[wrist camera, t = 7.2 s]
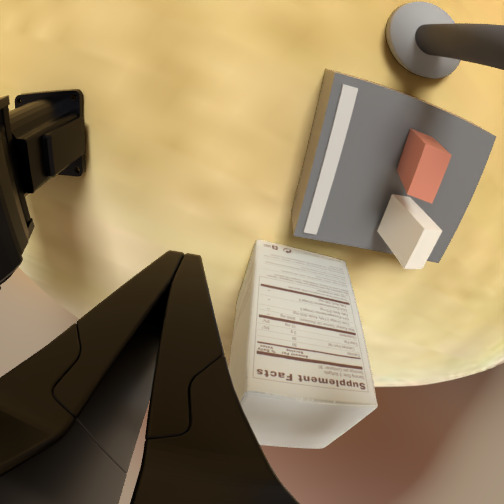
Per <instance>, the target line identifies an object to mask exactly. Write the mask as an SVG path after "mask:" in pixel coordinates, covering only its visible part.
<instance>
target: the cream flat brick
mask: <svg viewBox="0 0 504 504" xmlns="http://www.w3.org/2000/svg"><path fill="white" fill-rule="evenodd" d="M377 232H378V233H379V234H380V236H381V237H382V238H383V240H384V241H385V243H386V244H387V245H388V247H389V248H390V250H391V251H392V252H393V254H394V255H395V257H396V258H397V259H398V261H399V262H400V264H401V265H402V267H403V268H404V269H422V268H423V267H424V265H425V263H426V261H427V259H428V257H429V256H430V254H431V252H432V250H433V248H434V246H435V244H436V242H437V240H438V238H439V236H440V235H441V233H442V230H441V229H440V228H439V227H438V226H437V225H436V223H435V222H434V221H433V220H432V219H431V218H430V217H429V216H428V215H427V214H426V213H425V212H424V211H423V210H422V209H421V208H420V207H419V206H418V205H417V204H416V203H415V202H414V201H413V200H412V199H411V198H410V197H407V196H401V195H395V194H392V195H391V198H390V201H389V203H388V206H387V208H386V211H385V213H384V216H383V218H382V220H381V223H380V225H379V228H378V230H377Z"/></svg>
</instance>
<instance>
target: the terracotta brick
mask: <svg viewBox="0 0 504 504" xmlns="http://www.w3.org/2000/svg"><path fill="white" fill-rule="evenodd" d="M451 156H452V155H451V154H450V153H449V152H448V151H447V150H446V149H445V148H444V147H443V146H442V145H441V144H440V143H439V142H437V141H436V140H435V139H434V138H433V137H431V136H429V135H426V134H424V133H421V132H419V131H416V130H414V129H411V128H410V131H409V134H408V138H407V141H406V144H405V147H404V150H403V153H402V156H401V158H400V161H399V164H398V167H397V172H398V174H399V177H400V179H401V181H402V184H403V186H404V188H405V191H406V193H407V194H408V195H410V196H413V197H416V198H418V199H421V200H424V201H426V202H429V203H431V204H432V203H433V201H434V198H435V196H436V194H437V191H438V189H439V186H440V184H441V182H442V179H443V177H444V174H445V172H446V169H447V166H448V164H449V161H450V158H451Z"/></svg>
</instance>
